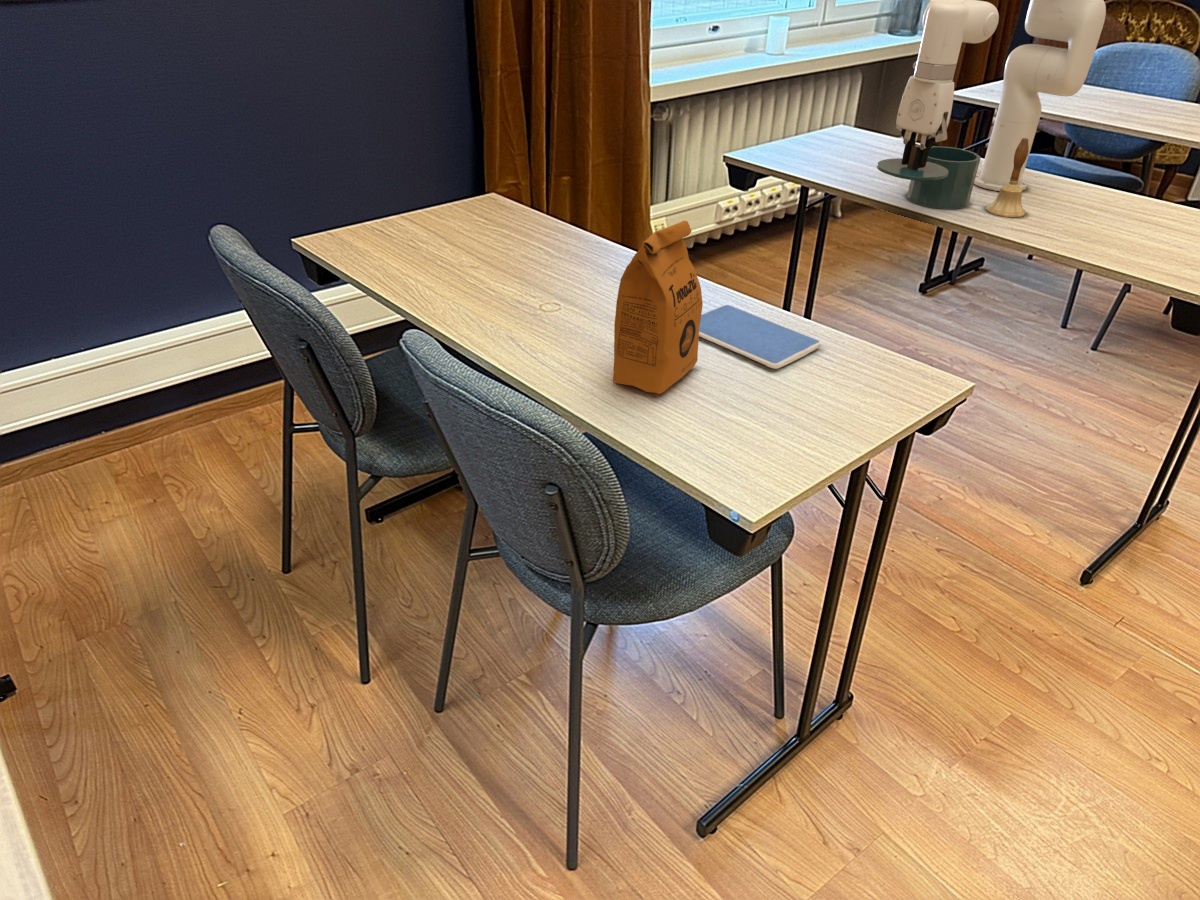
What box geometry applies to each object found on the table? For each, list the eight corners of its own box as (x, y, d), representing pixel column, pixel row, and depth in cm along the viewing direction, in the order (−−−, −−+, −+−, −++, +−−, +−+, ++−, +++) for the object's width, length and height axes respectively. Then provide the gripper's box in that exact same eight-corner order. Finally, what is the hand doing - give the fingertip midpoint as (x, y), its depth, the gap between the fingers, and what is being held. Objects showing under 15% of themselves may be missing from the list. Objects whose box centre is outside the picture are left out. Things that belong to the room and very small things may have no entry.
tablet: (676, 330, 138) (676, 322, 137) (726, 309, 145) (726, 301, 145) (774, 373, 126) (775, 365, 126) (822, 348, 134) (824, 340, 133)
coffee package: (707, 371, 126) (723, 225, 114) (659, 404, 118) (671, 250, 106) (651, 351, 131) (661, 209, 119) (602, 381, 123) (607, 231, 111)
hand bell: (990, 215, 192) (1011, 142, 183) (982, 204, 198) (1002, 132, 190) (1029, 219, 191) (1052, 144, 182) (1020, 207, 197) (1041, 135, 189)
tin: (894, 195, 202) (904, 150, 196) (934, 188, 208) (945, 143, 203) (940, 212, 193) (952, 165, 187) (980, 204, 199) (993, 157, 193)
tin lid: (861, 168, 184) (866, 141, 181) (908, 161, 191) (914, 134, 188) (913, 186, 174) (920, 157, 171) (962, 178, 181) (969, 150, 177)
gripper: (890, 66, 176) (872, 158, 186) (954, 80, 164) (930, 177, 174) (916, 64, 179) (896, 154, 189) (980, 78, 167) (955, 173, 178)
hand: (913, 165), depth 181 cm, fingers closed on tin lid, 2 cm apart
